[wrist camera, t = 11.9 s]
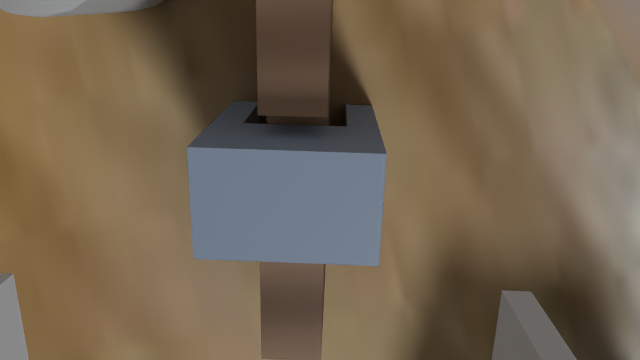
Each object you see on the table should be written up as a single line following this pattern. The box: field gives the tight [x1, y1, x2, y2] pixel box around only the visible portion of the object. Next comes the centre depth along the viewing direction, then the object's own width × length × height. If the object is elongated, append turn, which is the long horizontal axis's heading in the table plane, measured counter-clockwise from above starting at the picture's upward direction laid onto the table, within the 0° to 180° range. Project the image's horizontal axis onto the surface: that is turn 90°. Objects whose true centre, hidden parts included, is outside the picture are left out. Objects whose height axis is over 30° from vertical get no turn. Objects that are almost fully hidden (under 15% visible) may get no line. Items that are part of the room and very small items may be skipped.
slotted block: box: [187, 101, 387, 266], centre depth 27 cm, size 5×8×10 cm, turn 88°
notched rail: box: [256, 0, 333, 360], centre depth 28 cm, size 18×3×8 cm, turn 179°
